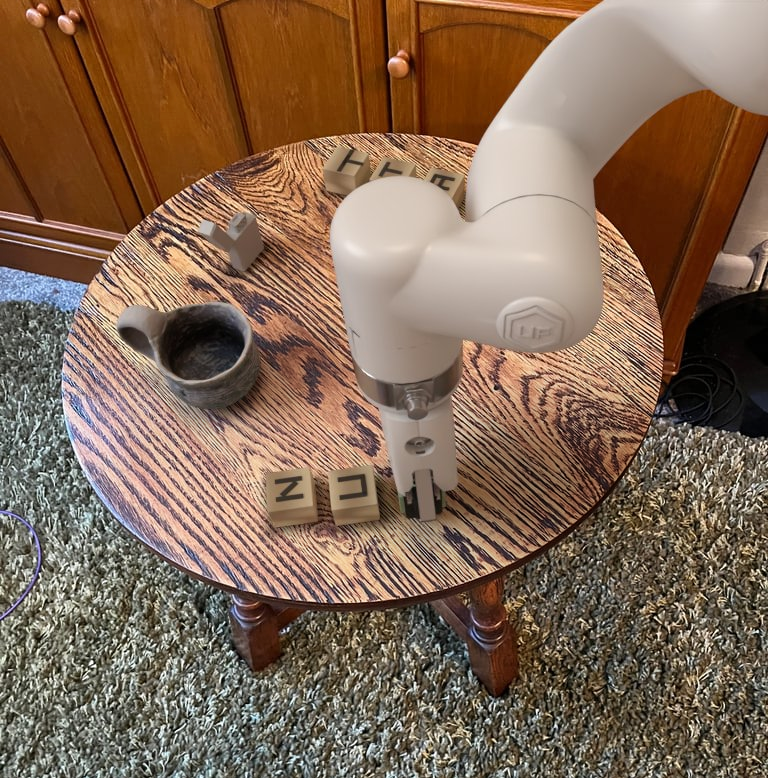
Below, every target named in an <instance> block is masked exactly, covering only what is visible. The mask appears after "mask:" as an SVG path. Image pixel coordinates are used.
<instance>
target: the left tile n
mask: <svg viewBox="0 0 768 778" xmlns="http://www.w3.org/2000/svg"><path fill="white" fill-rule="evenodd" d="M316 487H317V486H316V481H315V479H314V475H313V472H312V468H311V467H310V466H307V467H306V466H305V467H301V468H300V467H299V468H295V469H294V468H293V469H287V470H286V469H285V470H280V471H272V472H266V473H265V488H266V490H265V491H266V506H267V507H266V509H267V514H268V516H269V518H270V521H271V523H272V525H273V527H274V528H282V527H289V526H297V525H302V524H311V523H318V522H319V513H318V512H319V511H318V510H319V509H318V501H317V488H316Z"/></svg>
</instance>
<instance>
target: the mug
mask: <svg viewBox="0 0 768 778" xmlns="http://www.w3.org/2000/svg"><path fill="white" fill-rule="evenodd" d="M116 331H117V335H118V336H119V338H120V339H121V340H122V341H123V342H124V343H125V344H126V345H128V347H130V348H131V349H133V350H134V351H136V352H138V353H140V354H141V355H143V356H145V357H147V358H148V359H150V360H152V361H153V362H155V364H156V366H157V368H158V370H159V372H160V373H161V374H162V375H163V376H164V378H165V380H166V383H167V386H168V387H169V389H170V391H171V392H172V393H173V394H174V395H175V396H176V397H177V399H179V400H181V401H182V402H184V403H186V404H187V405H189V406H191V407H193V408H195V409H200V410H216V409H222V408H226V407H229V406H231V405H233V404H236V403H237V402H238V401H239V400H241V399H242V398H245V396H247V394H248V393H249V392H250V391H251V390H252V388H253V387H254V385H255V383H256V381H257V378H258V377H259V373H260V370H261V366H262V365H261V364H262V362H261V361H262V359H261V355H260V351H259V348H258V346H257V344H256V341H254V330H253V327H252V325H251V323H250V321H249V319H248V317H247V315H245V313H243V311H241V310H240V309H238V307H237V306H234V305H233V304H231V303H228V302H223V301H206V302H204V303H192V304H186V305H182V306H178V307H176V308H173V309H171V310H169V311H161V310H160V311H159V310H157V309H155V308H152V307H149V306H146V305H143V304H142V305H141V304H132V305H129V306H127V307H126V308H124V310H122V311H121V313H120V314H119V317H117V321H116Z"/></svg>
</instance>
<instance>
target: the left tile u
mask: <svg viewBox="0 0 768 778" xmlns="http://www.w3.org/2000/svg"><path fill="white" fill-rule="evenodd" d="M373 466H374V465H373V464H369V465H362V466H354V467H347V468H340V469H333V470H328V471H327V478H328V479H327V480H328V489H329V499H330V509H331V513H332V517H333V521H334V523H335V526H336V527H338V526H346V525H353V524H360V523H367V522H368V523H369V522H373V521H374V522H375V521H380V520H381V513H380V506H379V498H378V490H377V482H376V477H375V471H374V467H373Z"/></svg>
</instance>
